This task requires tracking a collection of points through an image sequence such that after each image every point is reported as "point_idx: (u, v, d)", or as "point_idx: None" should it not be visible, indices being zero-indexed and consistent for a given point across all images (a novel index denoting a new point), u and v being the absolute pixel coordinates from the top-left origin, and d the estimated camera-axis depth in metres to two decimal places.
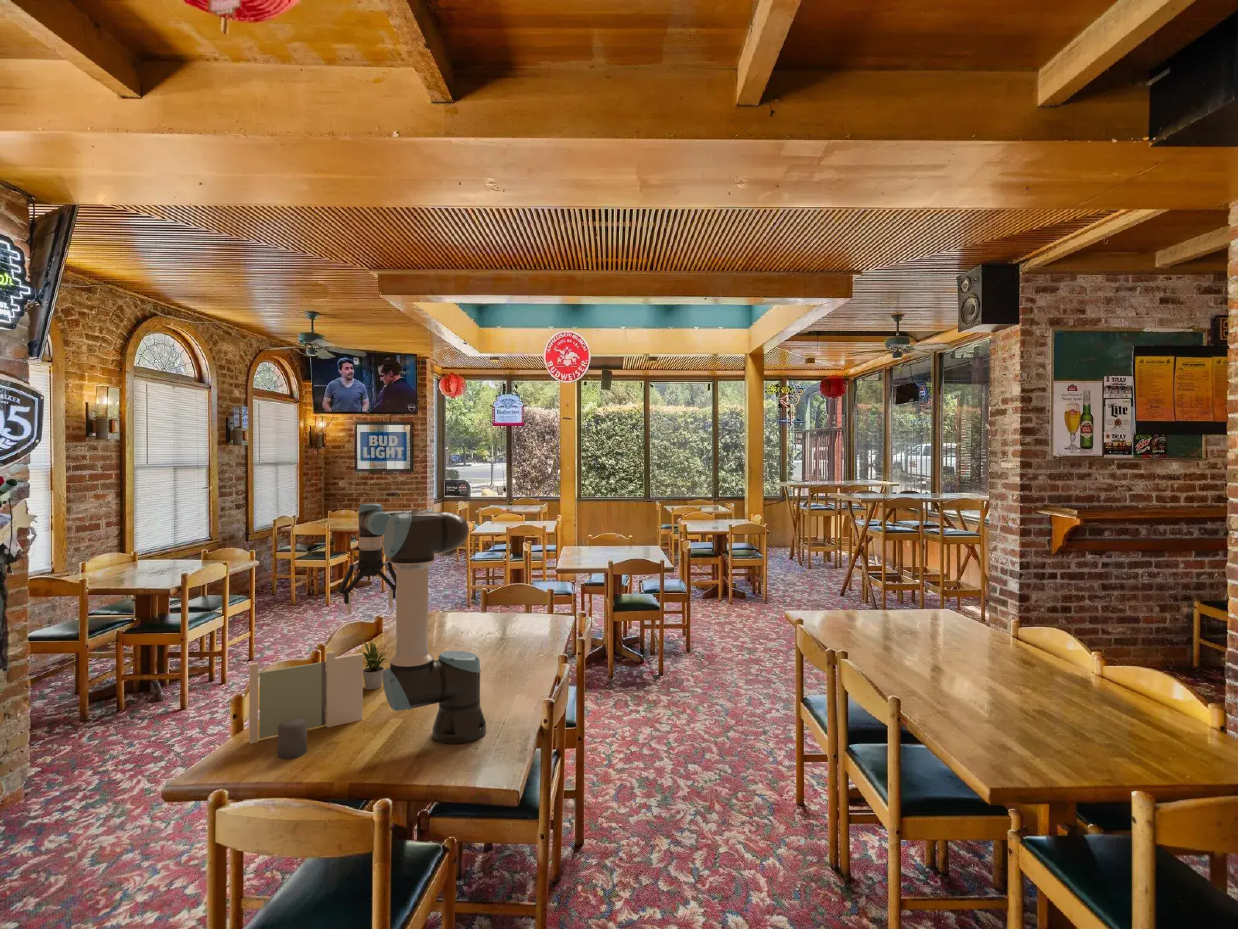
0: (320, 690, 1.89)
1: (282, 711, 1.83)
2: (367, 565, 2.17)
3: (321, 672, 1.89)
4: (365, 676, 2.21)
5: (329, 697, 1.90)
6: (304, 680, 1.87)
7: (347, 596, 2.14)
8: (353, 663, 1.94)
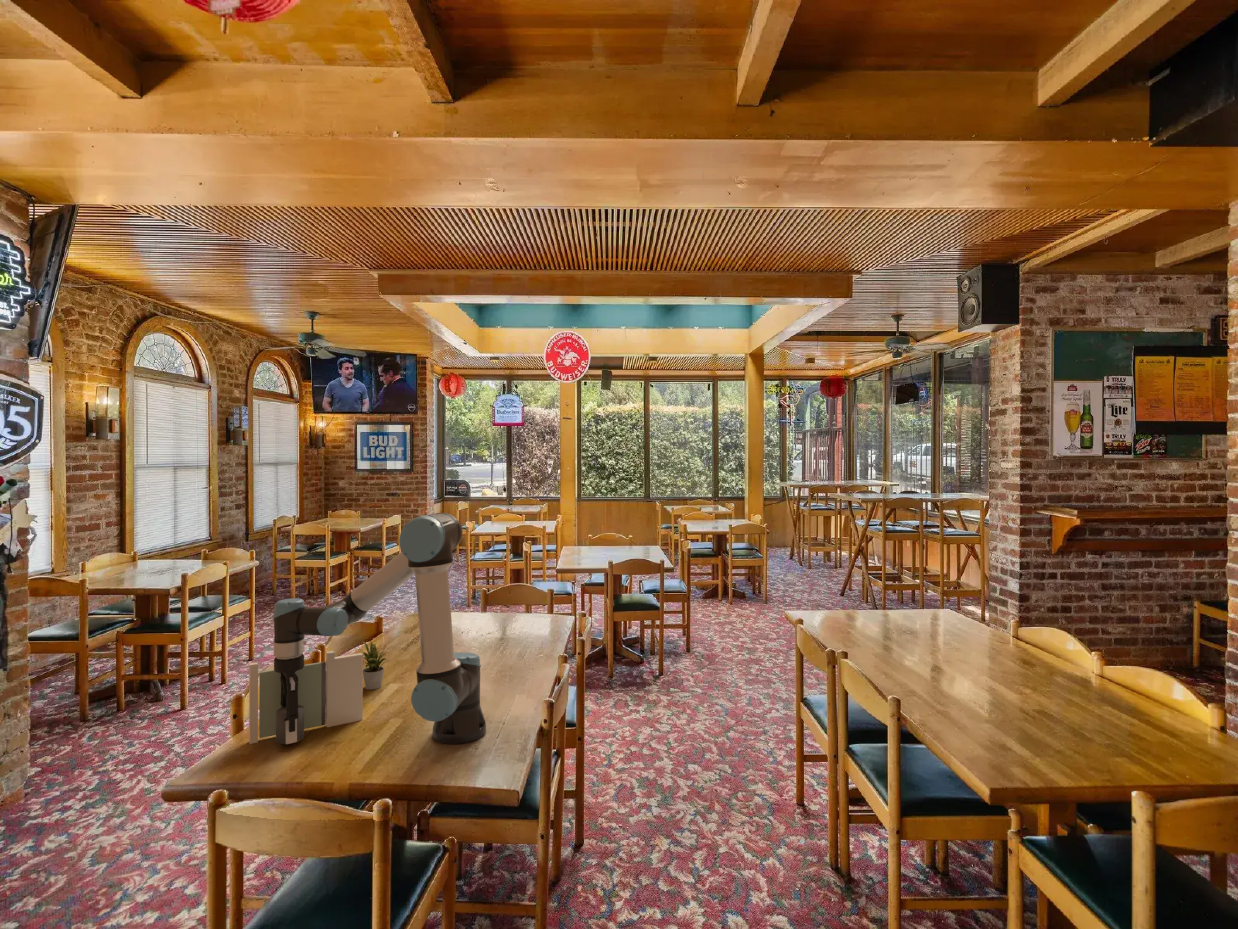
0: (320, 690, 1.89)
1: None
2: (283, 674, 1.79)
3: (321, 672, 1.89)
4: (365, 676, 2.21)
5: (329, 697, 1.90)
6: (304, 680, 1.87)
7: None
8: (353, 663, 1.94)
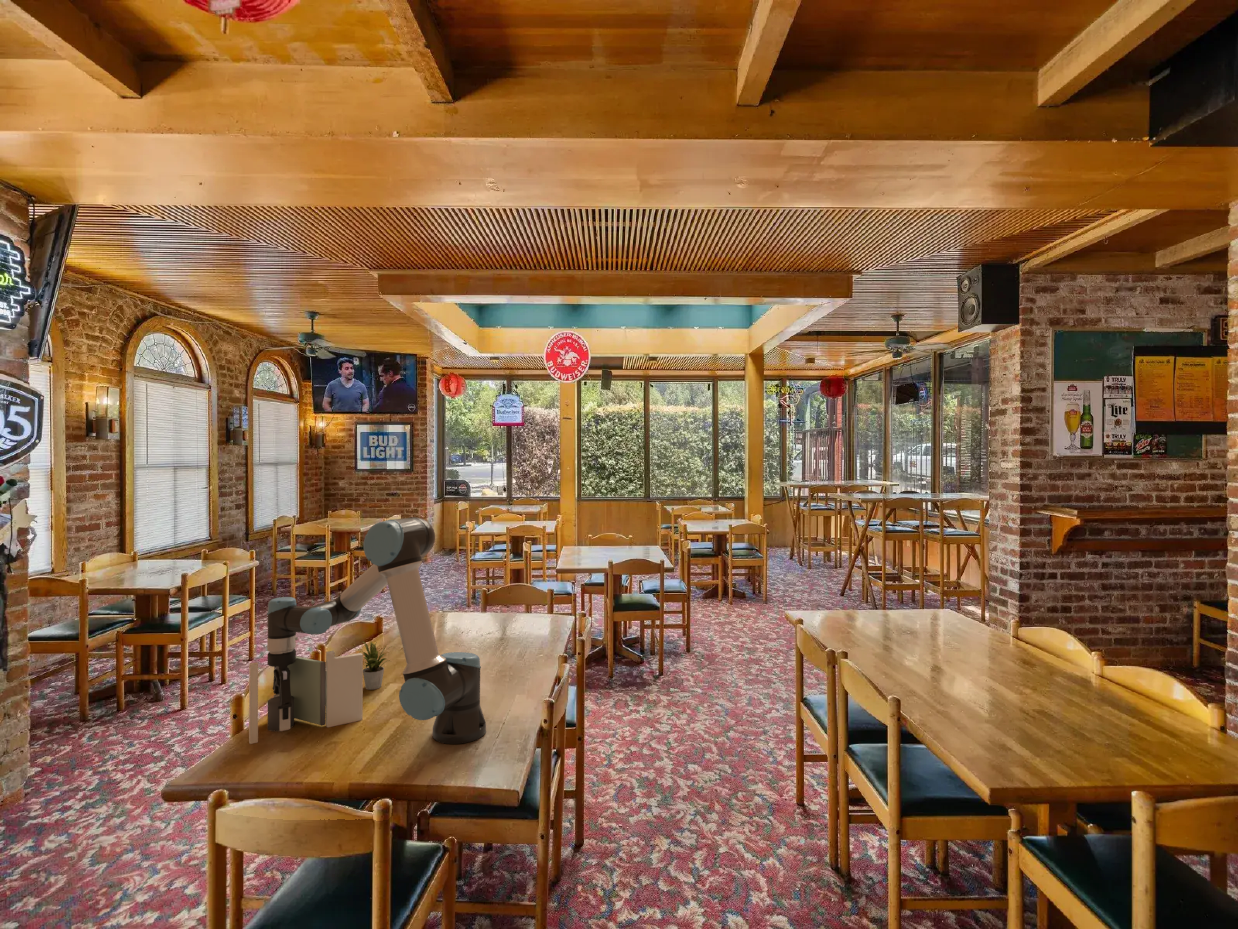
0: (319, 689, 1.90)
1: (296, 697, 1.94)
2: (276, 668, 1.91)
3: (320, 671, 1.90)
4: (365, 676, 2.21)
5: (329, 697, 1.90)
6: (309, 674, 1.92)
7: None
8: (353, 663, 1.94)
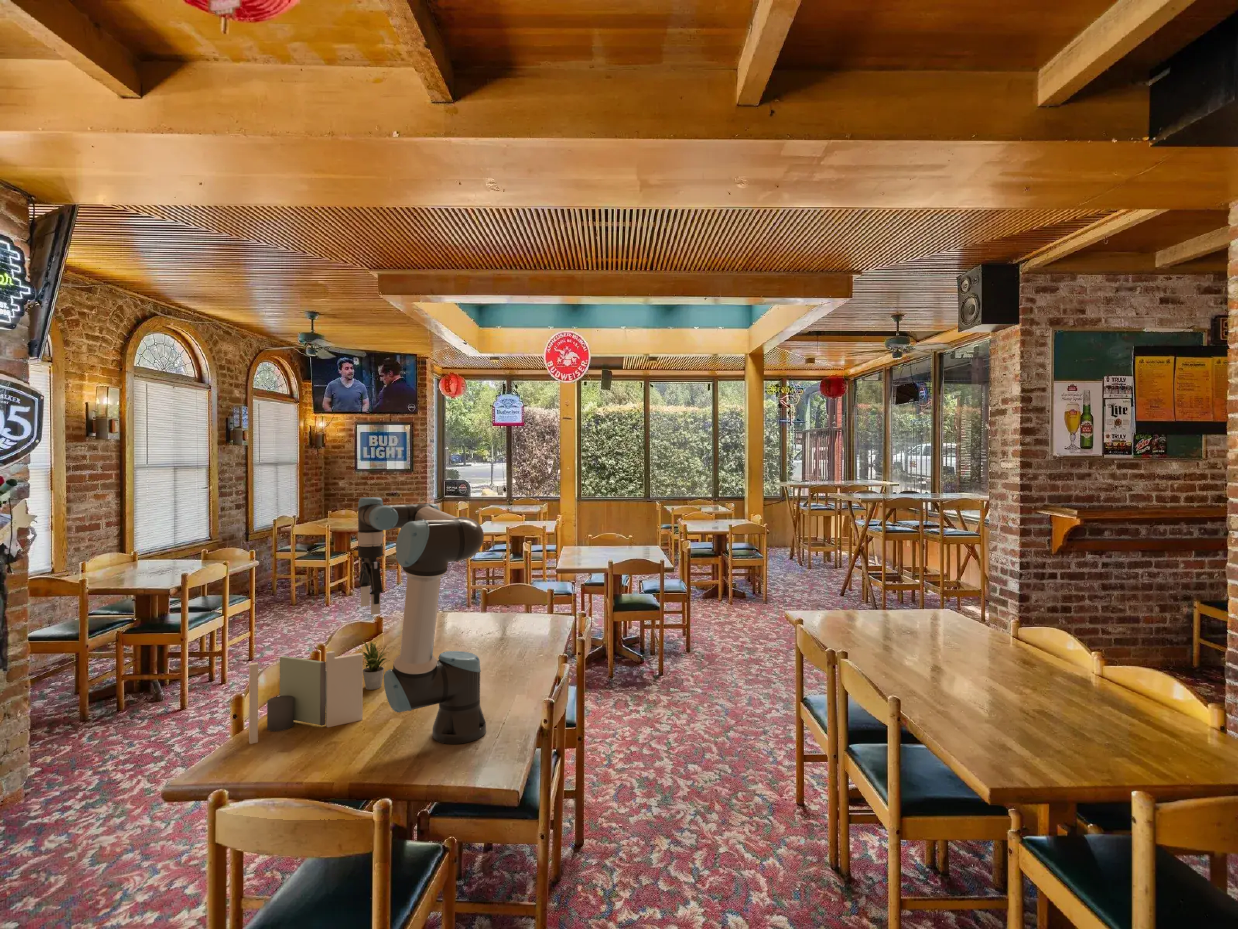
0: (319, 689, 1.90)
1: None
2: (365, 561, 2.08)
3: (320, 671, 1.90)
4: (365, 676, 2.21)
5: (329, 697, 1.90)
6: (308, 675, 1.91)
7: None
8: (353, 663, 1.94)
